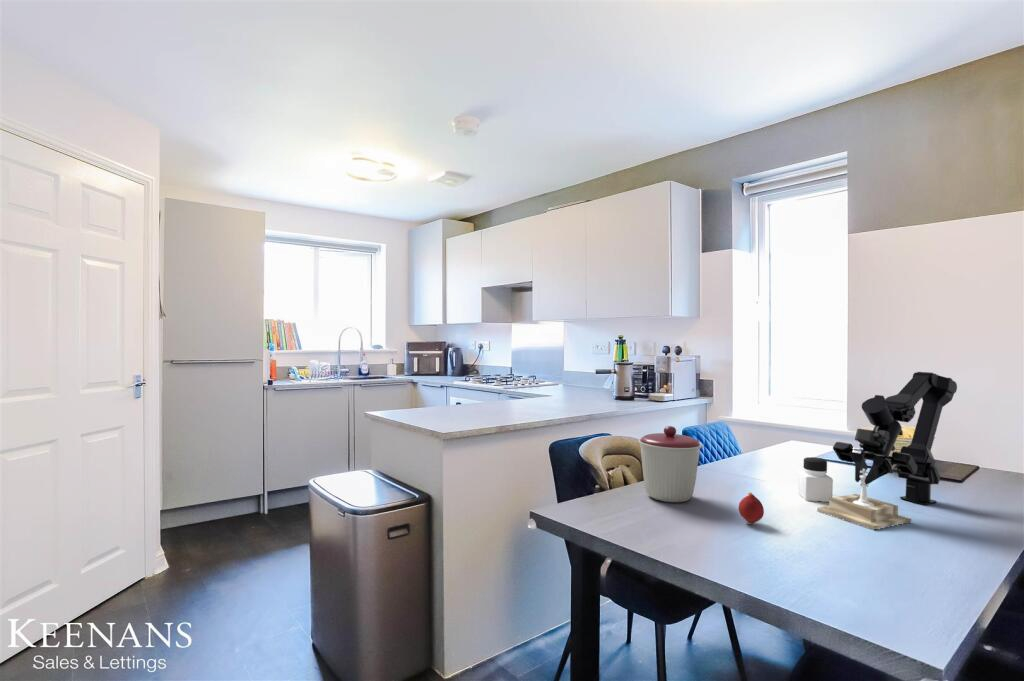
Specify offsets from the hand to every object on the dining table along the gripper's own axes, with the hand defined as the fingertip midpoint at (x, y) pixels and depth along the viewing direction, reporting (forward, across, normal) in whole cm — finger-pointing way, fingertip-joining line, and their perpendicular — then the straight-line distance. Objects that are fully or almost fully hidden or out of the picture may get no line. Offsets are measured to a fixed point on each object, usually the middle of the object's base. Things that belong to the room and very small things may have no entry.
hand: (861, 482), depth 137 cm
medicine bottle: (+3, -16, +11) cm, 19 cm away
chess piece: (+4, 0, +6) cm, 7 cm away
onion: (+28, -10, -15) cm, 34 cm away
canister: (+30, -36, -17) cm, 50 cm away
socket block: (+6, 0, +7) cm, 9 cm away
